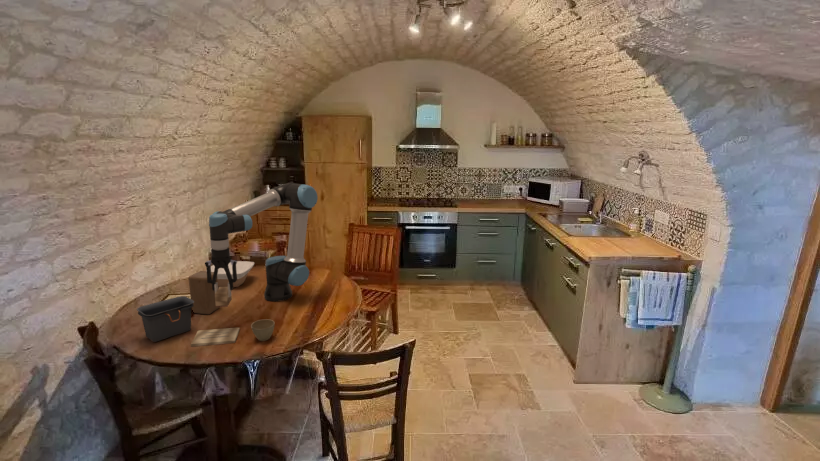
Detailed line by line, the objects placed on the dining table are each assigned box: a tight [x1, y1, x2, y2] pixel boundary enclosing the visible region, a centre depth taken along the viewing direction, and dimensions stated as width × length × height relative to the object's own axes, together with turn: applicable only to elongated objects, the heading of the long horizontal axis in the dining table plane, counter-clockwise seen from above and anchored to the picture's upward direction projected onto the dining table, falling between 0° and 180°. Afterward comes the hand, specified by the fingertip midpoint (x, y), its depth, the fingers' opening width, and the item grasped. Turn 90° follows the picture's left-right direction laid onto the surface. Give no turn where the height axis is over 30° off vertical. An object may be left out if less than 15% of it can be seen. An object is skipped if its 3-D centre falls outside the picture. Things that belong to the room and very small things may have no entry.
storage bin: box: [136, 295, 194, 343], centre depth 196 cm, size 21×16×14 cm
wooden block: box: [188, 270, 221, 315], centre depth 222 cm, size 10×10×20 cm
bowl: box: [205, 260, 255, 288], centre depth 261 cm, size 24×25×11 cm
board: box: [190, 327, 240, 347], centre depth 195 cm, size 18×13×1 cm
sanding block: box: [215, 286, 232, 308], centre depth 200 cm, size 5×9×6 cm, turn 11°
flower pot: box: [250, 318, 275, 342], centre depth 195 cm, size 10×10×7 cm
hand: (223, 296), depth 200 cm, fingers closed on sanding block, 5 cm apart
